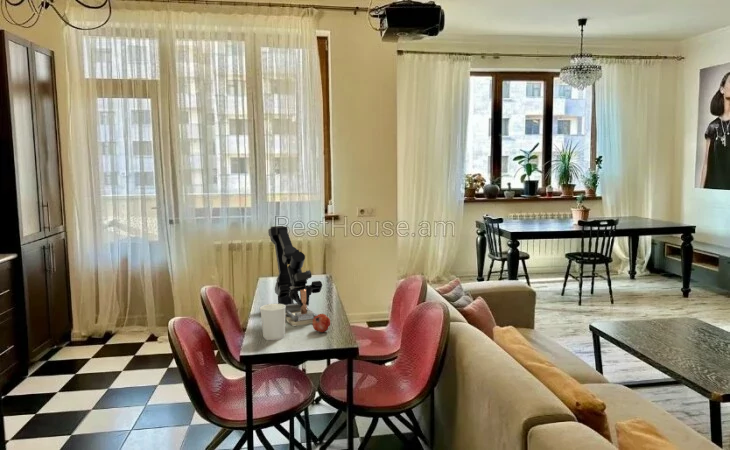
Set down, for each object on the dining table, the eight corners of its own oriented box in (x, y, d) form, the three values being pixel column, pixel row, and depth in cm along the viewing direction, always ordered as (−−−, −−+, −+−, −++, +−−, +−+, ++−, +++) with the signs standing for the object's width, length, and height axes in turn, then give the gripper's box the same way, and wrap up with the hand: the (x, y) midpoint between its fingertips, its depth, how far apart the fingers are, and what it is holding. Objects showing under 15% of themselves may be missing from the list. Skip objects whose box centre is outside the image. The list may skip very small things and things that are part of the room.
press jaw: (295, 318, 217) (293, 289, 215) (310, 316, 219) (309, 287, 218) (298, 321, 213) (296, 291, 212) (313, 318, 216) (312, 289, 214)
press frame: (281, 315, 229) (280, 305, 228) (307, 311, 233) (306, 301, 233) (292, 326, 212) (291, 315, 211) (319, 321, 216) (319, 311, 216)
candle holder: (265, 342, 192) (264, 311, 191) (258, 335, 201) (256, 305, 199) (290, 338, 197) (289, 307, 195) (282, 331, 205) (281, 302, 204)
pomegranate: (318, 333, 208) (303, 323, 201) (327, 317, 210) (312, 307, 204) (330, 339, 203) (315, 329, 196) (339, 322, 205) (325, 312, 198)
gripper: (277, 266, 214) (285, 298, 205) (320, 262, 221) (329, 292, 212) (274, 281, 222) (282, 312, 213) (315, 277, 229) (324, 306, 220)
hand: (304, 305), depth 214 cm, fingers closed on press jaw, 3 cm apart
